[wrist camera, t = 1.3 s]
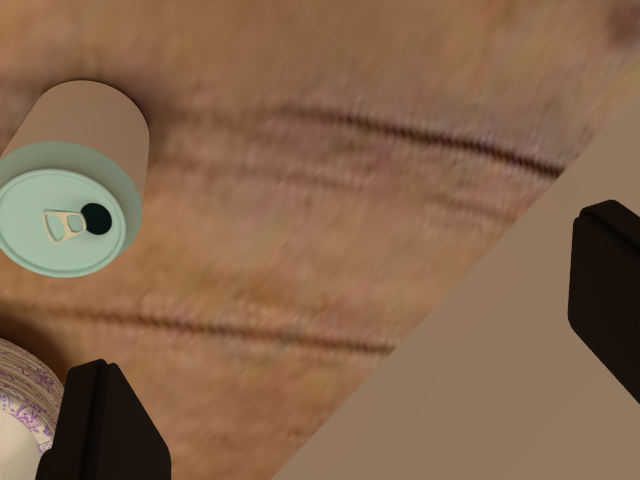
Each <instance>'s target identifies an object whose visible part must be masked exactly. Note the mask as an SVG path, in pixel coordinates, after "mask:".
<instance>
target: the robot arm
mask: <svg viewBox="0 0 640 480" xmlns="http://www.w3.org/2000/svg"><path fill="white" fill-rule="evenodd" d="M568 320H569V323H570V325H571V327H572V329H573V330H574V332H575V333H576V334H577V335H578V336H579V337H580V338H581V340H582V341H583V342H584V343H585V344H586V345H587V346H588V347H589V349H590V350H591V351H592V352H593V353H594V354H595V355H596V356H597V357H598V358H599V360H600V361H601V362H602V363H603V364H604V365H605V366H606V367H607V368H608V369H609V371H610V372H611V373H612V374H613V375H614V376H615V377H616V378H617V380H618V381H619V382H620V383H621V384H622V385H623V386H624V387H625V388H626V390H627V391H628V392H629V393H630V394H631V395H632V396H633V397H634V398H635V400H636V401H637V402H638V403H639V404H640V217H639V216H637V215H636V214H635V213H633V212H632V211H630V210H629V209H628V208H626V207H625V206H623V205H622V204H620V203H619V202H617V201H615V200H607V201H604V202H601V203H598V204H594V205H591V206H588V207H585V208H583V209H582V210H581V211H580V214H579V217H577V218H576V219H575V220H574V223H573V235H572V252H571V267H570V283H569V300H568ZM35 480H171V457H170V453H169V450H168V447H167V445H166V443H165V442H164V440H163V438H162V437H161V435H160V433H159V432H158V430H157V429H156V427H155V425H154V424H153V422H152V420H151V419H150V417H149V415H148V414H147V412H146V411H145V409H144V407H143V406H142V404H141V402H140V401H139V399H138V398H137V396H136V394H135V393H134V391H133V389H132V388H131V386H130V385H129V383H128V381H127V380H126V378H125V376H124V375H123V373H122V371H121V370H120V368H119V367H118V365H117V364H115V363H111V364H107V363H106V361H105V360H103V359H98V360H95V361H92V362H88V363H85V364H82V365H79V366H76V367H72V368H71V369H70V370H69V372H68V375H67V379H66V384H65V388H64V393H63V397H62V402H61V406H60V411H59V415H58V420H57V424H56V429H55V434H54V438H53V443H52V447H51V449H48V450H46V451H45V452H44V453H43V454H42V456H41V458H40V461H39V464H38V468H37V472H36V476H35Z"/></svg>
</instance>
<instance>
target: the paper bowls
mask: <svg viewBox="0 0 640 480" xmlns="http://www.w3.org/2000/svg"><path fill="white" fill-rule="evenodd" d="M63 393H64V387H63V385H62V384H61V382H60V381H59V380H58V378H57V376H56V375H55V374H54V373H53V371H52V370H51V369H50V368H49V367H48V366H47V365H45V364H44V363H43V362H42V361H40V360H39V359H38V358H37V357H35V356H34V355H32V354H30V353H29V352H27V351H26V350H24V349H22V348H21V347H19V346H17V345H14V344H13V343H11V342H9V341H7V340H4V339H2V338H0V480H35V476H36V472H37V468H38V464H39V461H40V458H41V456H42V454H43V453H44V452H45V451H46V450H48V449H51V447H52V443H53V438H54V434H55V429H56V424H57V420H58V415H59V411H60V406H61V402H62V397H63Z"/></svg>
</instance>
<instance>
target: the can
mask: <svg viewBox="0 0 640 480" xmlns="http://www.w3.org/2000/svg"><path fill="white" fill-rule="evenodd" d="M149 141H150V140H149V131H148V127H147V124H146V121H145V119H144V117H143V115H142V113H141V112H140V110H139V109H138V108H137V106H136V105H135V104H134V103H133V102H132V101H131V100H130V99H129V98H128V97H127V96H125V95H124V94H123V93H121V92H120V91H118V90H116V89H114V88H112V87H110V86H108V85H105V84H102V83H98V82H94V81H83V80H80V81H70V82H65V83H62V84H59V85H57V86H55V87H53V88H51V89H49V90H48V91H47V92H45V93H44V94H43V95H42V96H41V97H40V98H39V99H38V100H37V102H36V103H35V105H34V106H33V108H32V109H31V111H30V112H29V114H28V115H27V117H26V119H25V120H24V122H23V123H22V125H21V126H20V128H19V129H18V131H17V132H16V134H15V135H14V137H13V138H12V140H11V142H10V143H9V145H8V146H7V148H6V149H5V151H4V152H3V154H2V155H1V157H0V248H1V249H2V251H3V252H4V253H5V254H6V255H7V256H8V257H9V258H11V259H12V260H13V261H15V262H16V263H17V264H19V265H21V266H22V267H24V268H26V269H28V270H30V271H33V272H36V273H39V274H42V275H46V276H51V277H61V278H69V277H79V276H84V275H87V274H90V273H93V272H96V271H98V270H100V269H102V268H103V267H105V266H106V265H108V264H109V263H110V262H111V261H112V260H113V259H115V258H116V257H118V256H119V255H120V254H122V253H123V252H124V251H125V250H126V249H127V248H128V247H129V246H130V244H131V243H132V242H133V240H134V239H135V237H136V235H137V233H138V231H139V228H140V225H141V220H142V211H143V202H144V192H145V182H146V172H147V163H148V153H149Z"/></svg>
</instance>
